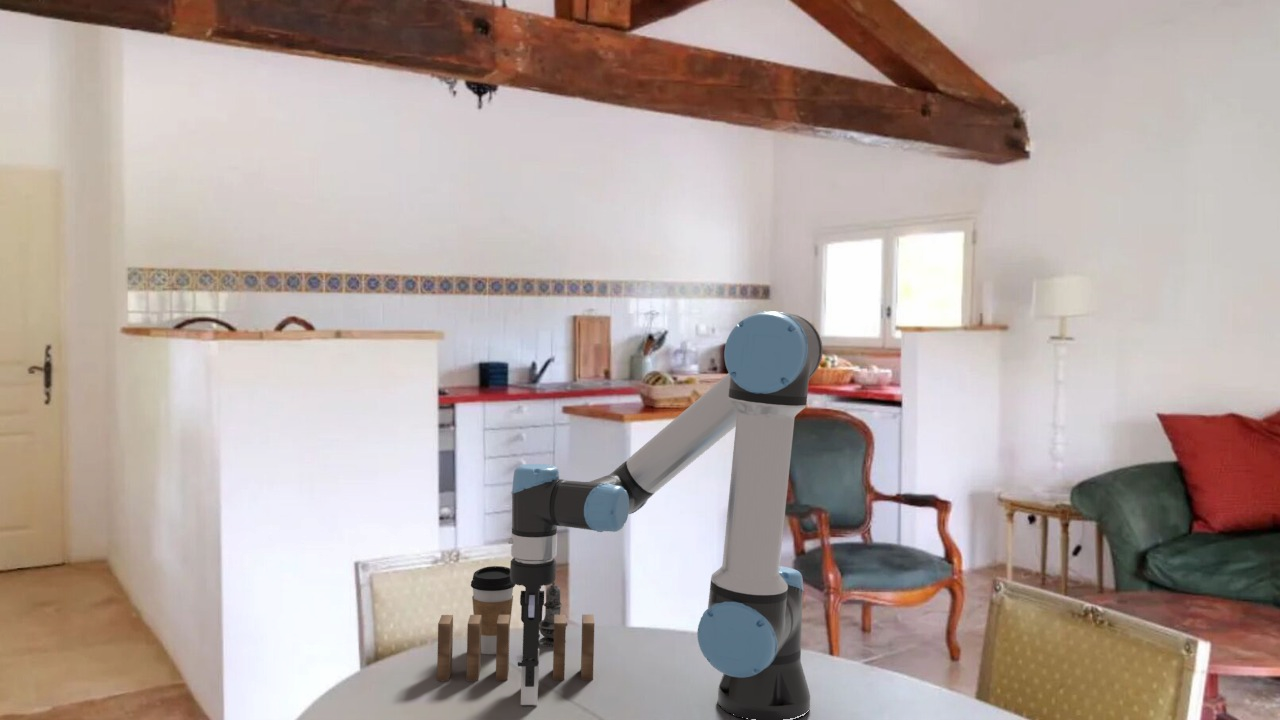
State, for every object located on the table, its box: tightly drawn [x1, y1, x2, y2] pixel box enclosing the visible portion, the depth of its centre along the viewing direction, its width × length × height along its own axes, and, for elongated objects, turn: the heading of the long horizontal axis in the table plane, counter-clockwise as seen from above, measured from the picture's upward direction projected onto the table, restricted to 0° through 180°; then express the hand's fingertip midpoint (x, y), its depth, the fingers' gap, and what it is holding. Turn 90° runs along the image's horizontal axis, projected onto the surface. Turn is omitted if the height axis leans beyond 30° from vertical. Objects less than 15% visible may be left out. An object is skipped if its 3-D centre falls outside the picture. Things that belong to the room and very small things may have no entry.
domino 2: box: [466, 614, 482, 682], centre depth 165 cm, size 2×5×10 cm, turn 5°
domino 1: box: [436, 614, 454, 682], centre depth 165 cm, size 2×5×10 cm, turn 5°
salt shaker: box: [539, 581, 569, 647], centre depth 184 cm, size 6×6×12 cm
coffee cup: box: [470, 565, 516, 655], centre depth 179 cm, size 8×8×15 cm
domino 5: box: [580, 614, 595, 681], centre depth 167 cm, size 2×5×10 cm, turn 5°
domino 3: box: [495, 615, 511, 681], centre depth 166 cm, size 2×5×10 cm, turn 5°
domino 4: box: [552, 614, 567, 681], centre depth 167 cm, size 2×5×10 cm, turn 5°
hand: (529, 694), depth 157 cm, fingers open, 7 cm apart
